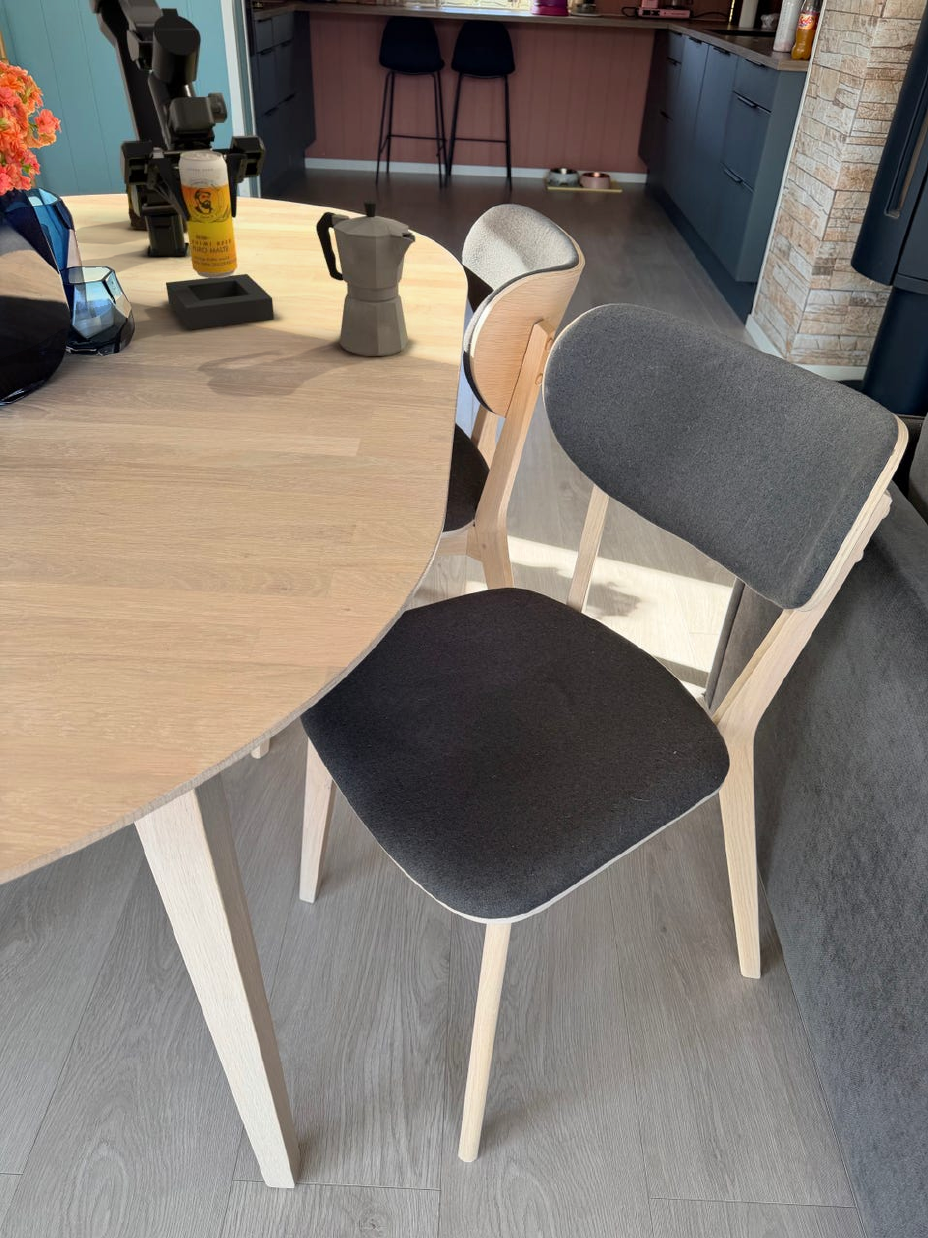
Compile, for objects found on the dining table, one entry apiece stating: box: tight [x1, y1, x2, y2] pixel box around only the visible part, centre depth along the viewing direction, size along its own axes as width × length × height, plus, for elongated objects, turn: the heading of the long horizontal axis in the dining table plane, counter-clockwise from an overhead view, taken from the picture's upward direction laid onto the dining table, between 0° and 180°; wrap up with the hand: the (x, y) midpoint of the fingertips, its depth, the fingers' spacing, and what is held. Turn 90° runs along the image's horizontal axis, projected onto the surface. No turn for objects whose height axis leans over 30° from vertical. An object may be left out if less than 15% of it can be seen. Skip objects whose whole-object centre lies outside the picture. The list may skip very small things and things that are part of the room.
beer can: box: [179, 151, 238, 278], centre depth 122 cm, size 6×6×15 cm
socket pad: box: [165, 273, 275, 331], centre depth 128 cm, size 12×12×3 cm
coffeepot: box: [315, 199, 417, 357], centre depth 116 cm, size 15×9×18 cm, turn 57°
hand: (211, 217), depth 121 cm, fingers closed on beer can, 6 cm apart
